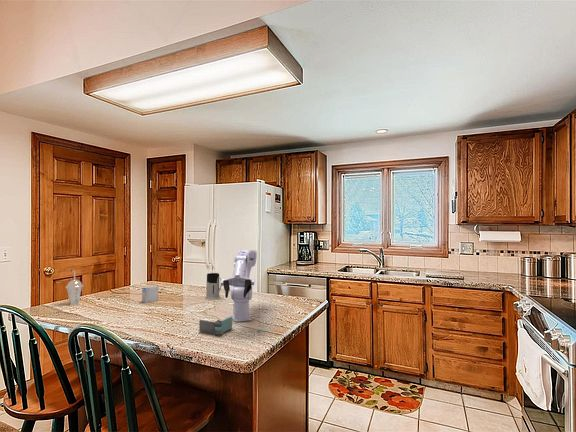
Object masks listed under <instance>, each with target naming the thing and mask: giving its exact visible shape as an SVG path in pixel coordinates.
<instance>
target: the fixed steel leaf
mask: <svg viewBox="0 0 576 432" xmlns="http://www.w3.org/2000/svg"><path fill="white" fill-rule="evenodd" d="M198 325H199V327H198V330H199V331H198V332H199V333H202V334H207V335H214V336H215V337H221V336H222V335H223V333H222V331H219V332H217V331H215V326H216V327H220V326H222V321H221V320H220V319H217V320H215V321H209V320H204V319H199V324H198Z"/></svg>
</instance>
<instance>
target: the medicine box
mask: <svg viewBox="0 0 576 432" xmlns="http://www.w3.org/2000/svg"><path fill="white" fill-rule="evenodd" d="M141 293H142V294H141V303H144V304H148V303H153V302H156V301H157V302H158V301H159V286H157V285H150V286H144V287H141Z"/></svg>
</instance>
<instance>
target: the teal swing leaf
mask: <svg viewBox="0 0 576 432" xmlns="http://www.w3.org/2000/svg"><path fill="white" fill-rule="evenodd" d="M232 316H233V315H231V316H229V317H226V318H224V319H222V320H220V321H222V326H220V327H216V326H215V331H217V332H219V331H222V334H223V333H225V332H227V331H229V330H230V329H233V318H232Z"/></svg>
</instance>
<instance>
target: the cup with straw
mask: <svg viewBox="0 0 576 432" xmlns="http://www.w3.org/2000/svg"><path fill="white" fill-rule="evenodd" d="M70 271H71V272H73V279H72V280H70V281H69V282H68V283H67V284H66V286H65V289H66V291H67V295H68V304H69V306H77V305H79V304H80V300H81V299H80V298H81V292H82V289H83V287H84V284H82V282H81V281H80V280H78V279H76V270H73V269H71V270H70Z"/></svg>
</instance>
